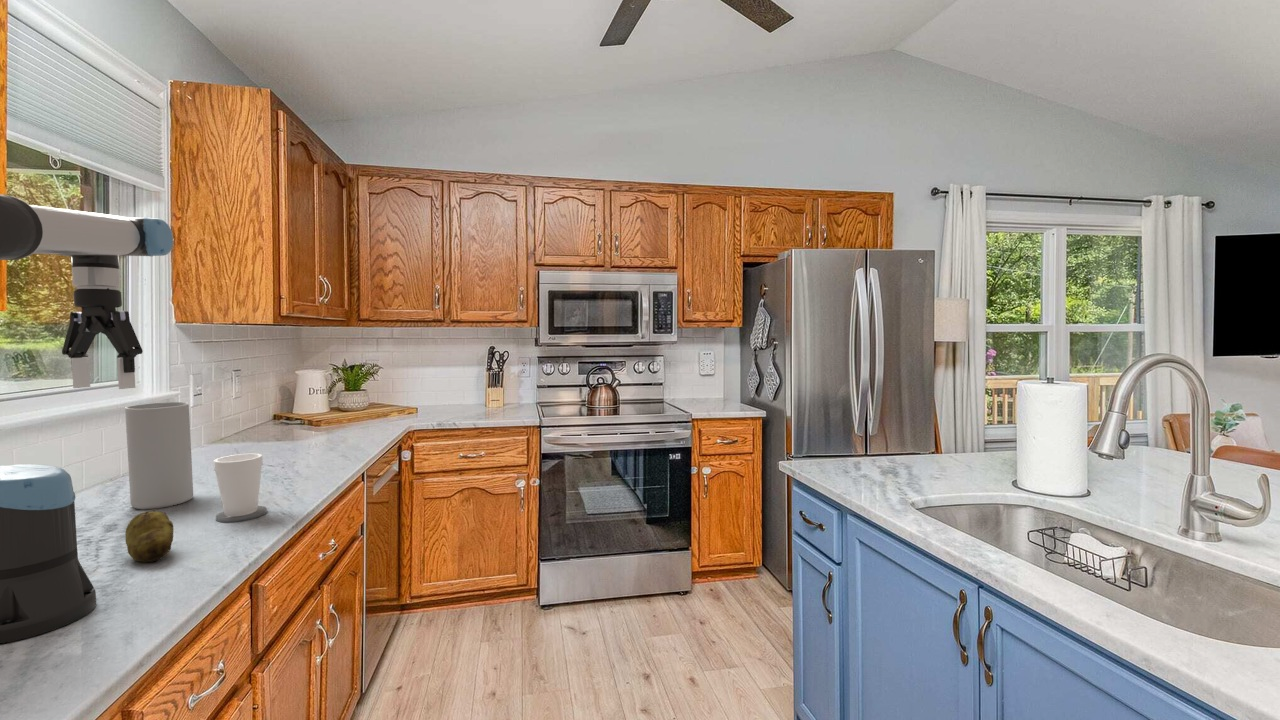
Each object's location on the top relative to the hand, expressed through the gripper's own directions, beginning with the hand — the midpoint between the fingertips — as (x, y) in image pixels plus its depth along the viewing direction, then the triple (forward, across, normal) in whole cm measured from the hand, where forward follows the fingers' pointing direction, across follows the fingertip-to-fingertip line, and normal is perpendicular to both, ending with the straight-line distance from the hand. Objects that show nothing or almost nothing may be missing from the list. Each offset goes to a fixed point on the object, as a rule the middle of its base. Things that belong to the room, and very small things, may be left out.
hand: (104, 388), depth 127 cm
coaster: (+32, -17, -16) cm, 39 cm away
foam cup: (+31, -17, -16) cm, 39 cm away
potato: (+32, -22, +8) cm, 40 cm away
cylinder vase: (+32, +13, -20) cm, 40 cm away
